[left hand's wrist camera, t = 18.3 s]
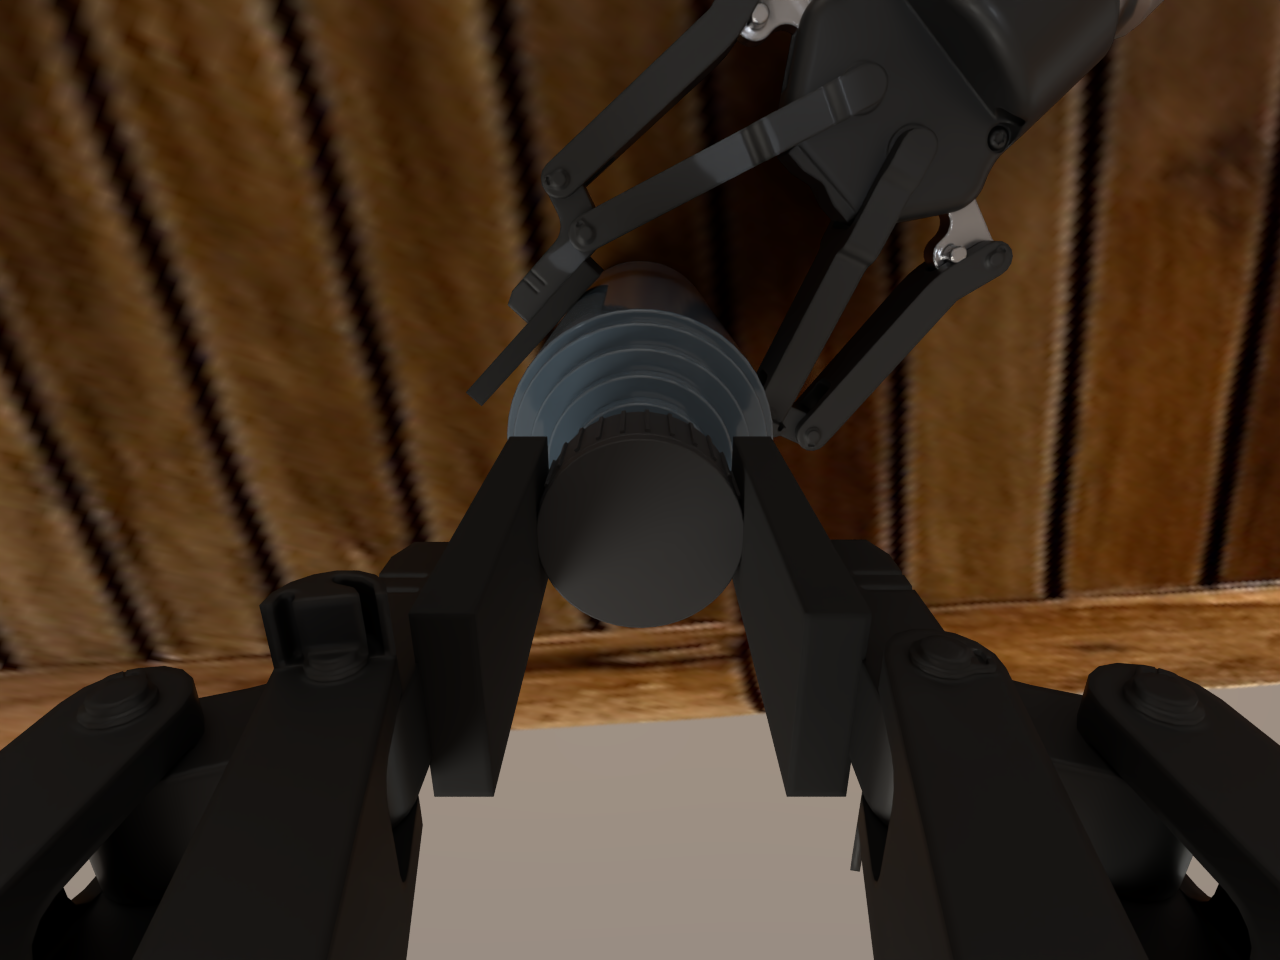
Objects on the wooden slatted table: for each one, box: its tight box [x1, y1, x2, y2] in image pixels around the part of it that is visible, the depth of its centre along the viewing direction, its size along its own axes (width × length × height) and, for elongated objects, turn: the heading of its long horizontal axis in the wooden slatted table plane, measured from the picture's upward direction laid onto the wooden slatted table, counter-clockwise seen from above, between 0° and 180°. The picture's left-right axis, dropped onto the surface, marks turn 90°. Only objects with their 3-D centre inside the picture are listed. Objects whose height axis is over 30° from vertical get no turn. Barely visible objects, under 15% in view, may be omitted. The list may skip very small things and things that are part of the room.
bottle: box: [507, 261, 773, 471], centre depth 23 cm, size 7×7×21 cm
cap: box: [537, 409, 744, 628], centre depth 13 cm, size 4×4×2 cm
